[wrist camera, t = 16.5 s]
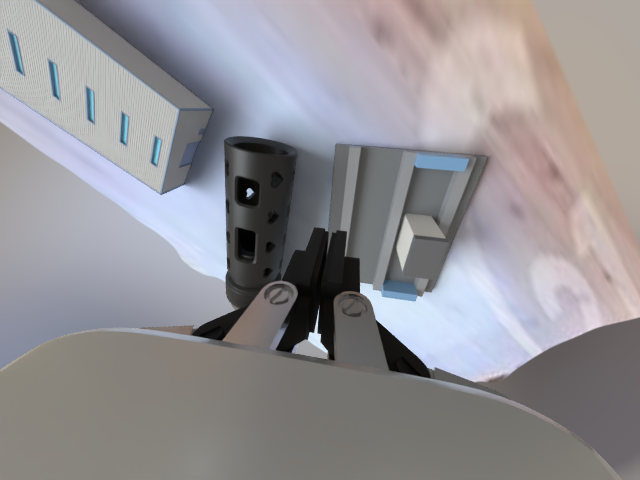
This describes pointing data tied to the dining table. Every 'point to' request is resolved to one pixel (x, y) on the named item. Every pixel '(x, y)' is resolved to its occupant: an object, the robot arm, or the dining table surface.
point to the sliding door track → (396, 206)
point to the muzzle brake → (256, 213)
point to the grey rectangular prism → (420, 246)
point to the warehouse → (100, 90)
